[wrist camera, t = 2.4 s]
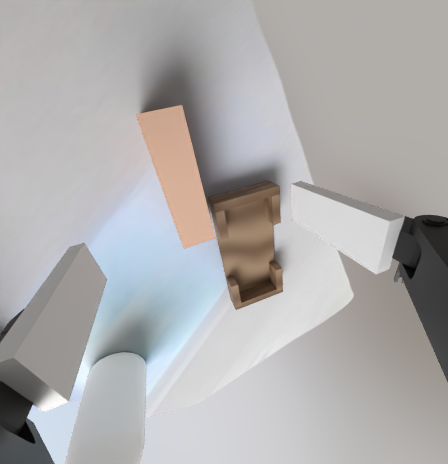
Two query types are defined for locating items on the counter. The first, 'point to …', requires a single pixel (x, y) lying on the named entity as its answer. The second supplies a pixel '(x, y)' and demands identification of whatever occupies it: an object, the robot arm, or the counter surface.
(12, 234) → the counter surface
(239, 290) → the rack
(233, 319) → the counter surface
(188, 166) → the peach rectangular block
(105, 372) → the wine bottle
